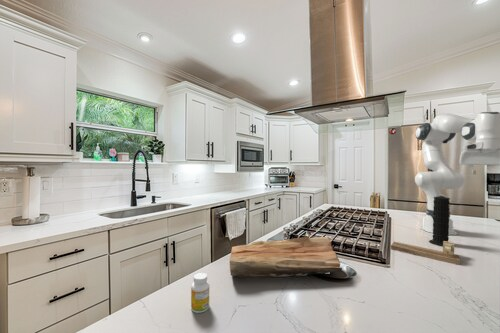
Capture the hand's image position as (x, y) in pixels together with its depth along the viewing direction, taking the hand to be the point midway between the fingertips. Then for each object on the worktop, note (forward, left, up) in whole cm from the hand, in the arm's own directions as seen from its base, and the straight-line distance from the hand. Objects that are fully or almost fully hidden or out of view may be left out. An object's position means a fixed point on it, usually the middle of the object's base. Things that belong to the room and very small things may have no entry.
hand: (487, 174), depth 109 cm
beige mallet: (+15, -13, -39) cm, 44 cm away
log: (+82, -60, -40) cm, 109 cm away
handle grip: (-7, -17, -39) cm, 43 cm away
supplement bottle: (+117, -66, -39) cm, 140 cm away
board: (+18, -22, -39) cm, 48 cm away
